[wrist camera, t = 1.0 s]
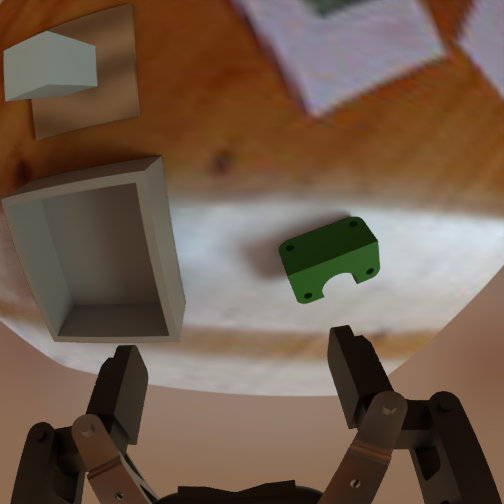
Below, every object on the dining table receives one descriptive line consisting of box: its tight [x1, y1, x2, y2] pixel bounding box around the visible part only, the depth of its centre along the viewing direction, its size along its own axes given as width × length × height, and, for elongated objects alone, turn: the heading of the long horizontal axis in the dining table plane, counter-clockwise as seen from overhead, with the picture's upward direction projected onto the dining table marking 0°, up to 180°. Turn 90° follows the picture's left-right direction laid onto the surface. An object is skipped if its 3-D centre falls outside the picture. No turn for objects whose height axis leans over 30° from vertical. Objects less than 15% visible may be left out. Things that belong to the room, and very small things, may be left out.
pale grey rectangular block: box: [4, 31, 97, 101], centre depth 22 cm, size 5×5×11 cm
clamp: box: [279, 217, 380, 304], centre depth 38 cm, size 12×6×9 cm, turn 105°
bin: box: [1, 156, 186, 343], centre depth 34 cm, size 20×18×8 cm
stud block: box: [30, 3, 140, 141], centre depth 25 cm, size 14×14×6 cm
